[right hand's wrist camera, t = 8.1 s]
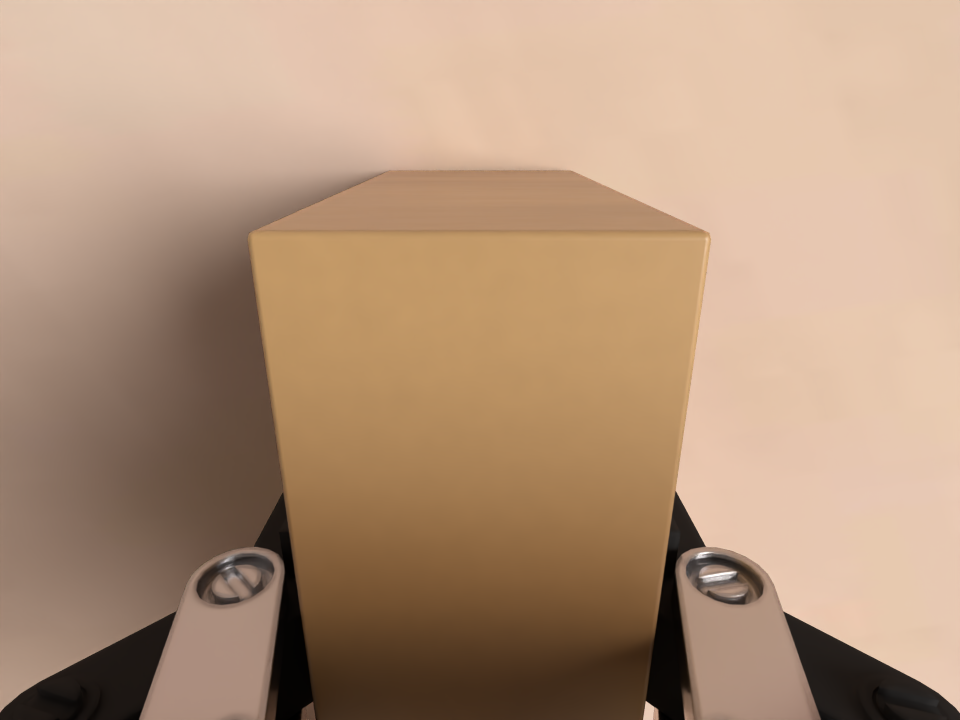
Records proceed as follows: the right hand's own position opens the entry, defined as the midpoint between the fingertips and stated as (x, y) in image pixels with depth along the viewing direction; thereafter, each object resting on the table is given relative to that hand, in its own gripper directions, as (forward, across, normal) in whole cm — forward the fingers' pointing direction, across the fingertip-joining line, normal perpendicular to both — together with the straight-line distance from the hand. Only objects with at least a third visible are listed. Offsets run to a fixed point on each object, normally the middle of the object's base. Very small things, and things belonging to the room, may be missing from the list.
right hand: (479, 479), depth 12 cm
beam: (+3, 0, -26) cm, 27 cm away
